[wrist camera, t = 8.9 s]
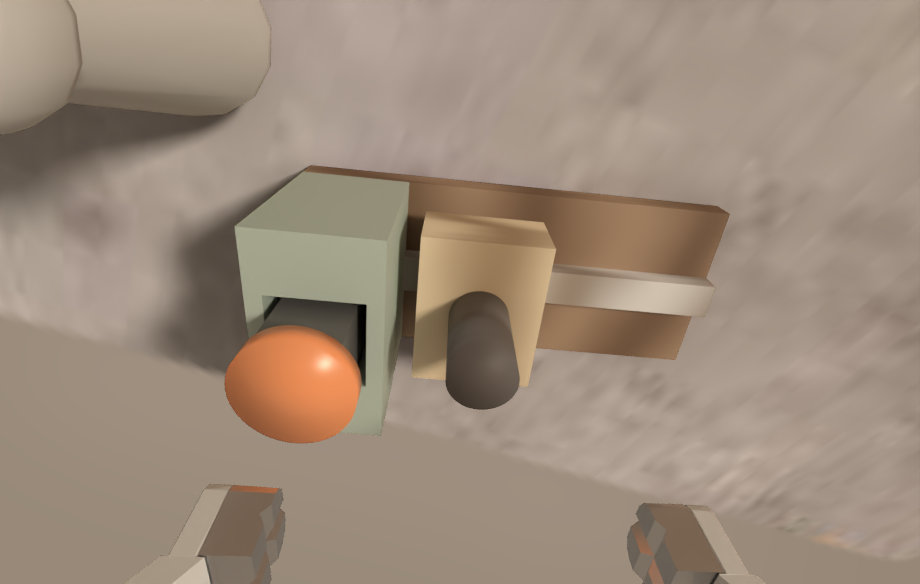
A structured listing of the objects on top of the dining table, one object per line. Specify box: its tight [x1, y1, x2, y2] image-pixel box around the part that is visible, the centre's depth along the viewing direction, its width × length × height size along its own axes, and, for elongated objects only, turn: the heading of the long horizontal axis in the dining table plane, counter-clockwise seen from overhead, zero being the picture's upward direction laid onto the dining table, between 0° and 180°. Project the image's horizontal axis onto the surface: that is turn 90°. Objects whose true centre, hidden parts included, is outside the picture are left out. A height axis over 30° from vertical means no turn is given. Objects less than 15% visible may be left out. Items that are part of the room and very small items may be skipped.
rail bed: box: [303, 165, 730, 360], centre depth 23 cm, size 19×8×2 cm, turn 84°
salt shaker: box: [0, 0, 271, 135], centre depth 13 cm, size 6×6×13 cm
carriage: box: [412, 211, 556, 410], centre depth 19 cm, size 5×6×7 cm
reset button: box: [225, 297, 366, 443], centre depth 16 cm, size 4×4×5 cm
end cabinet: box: [234, 172, 409, 436], centre depth 19 cm, size 5×8×7 cm, turn 174°
